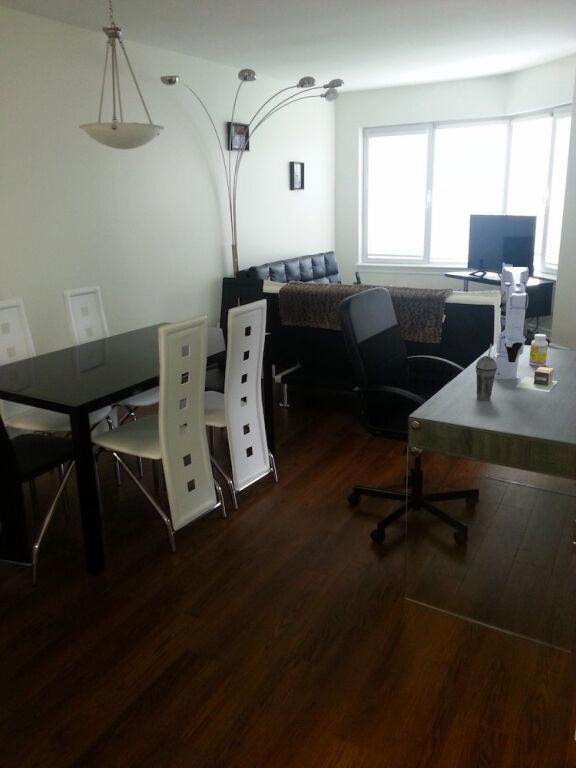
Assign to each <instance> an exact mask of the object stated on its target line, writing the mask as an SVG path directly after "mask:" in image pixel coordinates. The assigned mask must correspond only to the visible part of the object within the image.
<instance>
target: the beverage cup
mask: <svg viewBox="0 0 576 768" xmlns="http://www.w3.org/2000/svg"><path fill="white" fill-rule="evenodd" d="M492 346H493V344H492V343H490V344H489V350H488V355H486V356H481V358H479V359H478V360H477V362H476V363H475V373H476V399H477V400H479V401H485V402H488V401H490V400H491V396H492V394H493V393H492V391H493V387H494V381H495V378H494V377H495V373H496V370H497V365H496V362H495V360H494V359H493V356H492V357H491V351H492Z"/></svg>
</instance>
